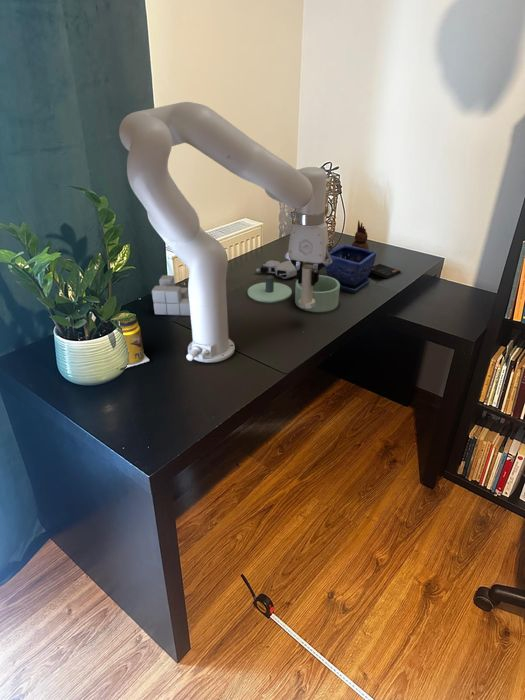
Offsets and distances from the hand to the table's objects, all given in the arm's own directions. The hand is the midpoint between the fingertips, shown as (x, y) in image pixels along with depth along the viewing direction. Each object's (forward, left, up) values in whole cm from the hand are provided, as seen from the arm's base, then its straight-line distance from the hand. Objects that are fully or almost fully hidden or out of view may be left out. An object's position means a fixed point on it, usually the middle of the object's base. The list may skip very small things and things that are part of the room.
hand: (307, 282), depth 138 cm
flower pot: (+32, -5, -14) cm, 35 cm away
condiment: (-35, +37, -14) cm, 53 cm away
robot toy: (+33, +20, -14) cm, 41 cm away
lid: (+16, +18, -13) cm, 27 cm away
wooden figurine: (+57, -3, -14) cm, 59 cm away
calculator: (+47, -13, -14) cm, 51 cm away
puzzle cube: (-3, +41, -14) cm, 44 cm away
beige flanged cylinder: (0, 0, -7) cm, 7 cm away
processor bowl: (+15, +1, -14) cm, 20 cm away
